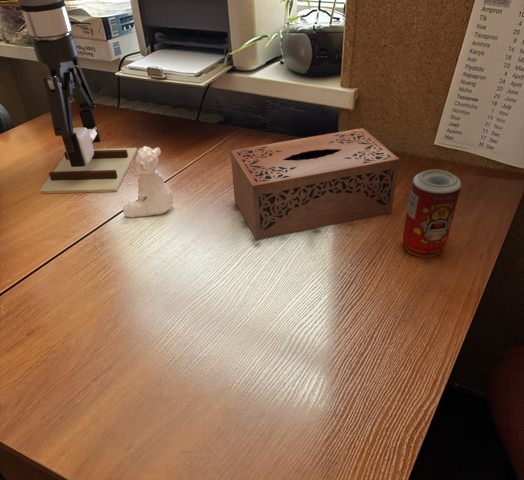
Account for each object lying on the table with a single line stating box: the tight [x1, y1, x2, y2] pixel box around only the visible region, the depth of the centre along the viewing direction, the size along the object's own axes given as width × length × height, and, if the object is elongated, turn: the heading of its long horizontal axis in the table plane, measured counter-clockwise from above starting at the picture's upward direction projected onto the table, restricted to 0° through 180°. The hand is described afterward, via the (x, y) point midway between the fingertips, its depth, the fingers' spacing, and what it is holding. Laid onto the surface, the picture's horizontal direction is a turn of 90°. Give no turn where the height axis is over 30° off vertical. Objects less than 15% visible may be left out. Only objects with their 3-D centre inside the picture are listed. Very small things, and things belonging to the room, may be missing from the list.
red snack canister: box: [402, 168, 462, 258], centre depth 79 cm, size 7×7×12 cm
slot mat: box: [39, 147, 138, 195], centre depth 109 cm, size 16×20×2 cm
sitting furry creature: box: [122, 145, 174, 219], centre depth 92 cm, size 10×9×12 cm
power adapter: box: [63, 126, 98, 164], centre depth 105 cm, size 11×5×6 cm, turn 177°
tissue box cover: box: [230, 127, 400, 241], centre depth 91 cm, size 26×14×10 cm, turn 107°
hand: (86, 153), depth 107 cm, fingers closed on power adapter, 11 cm apart
